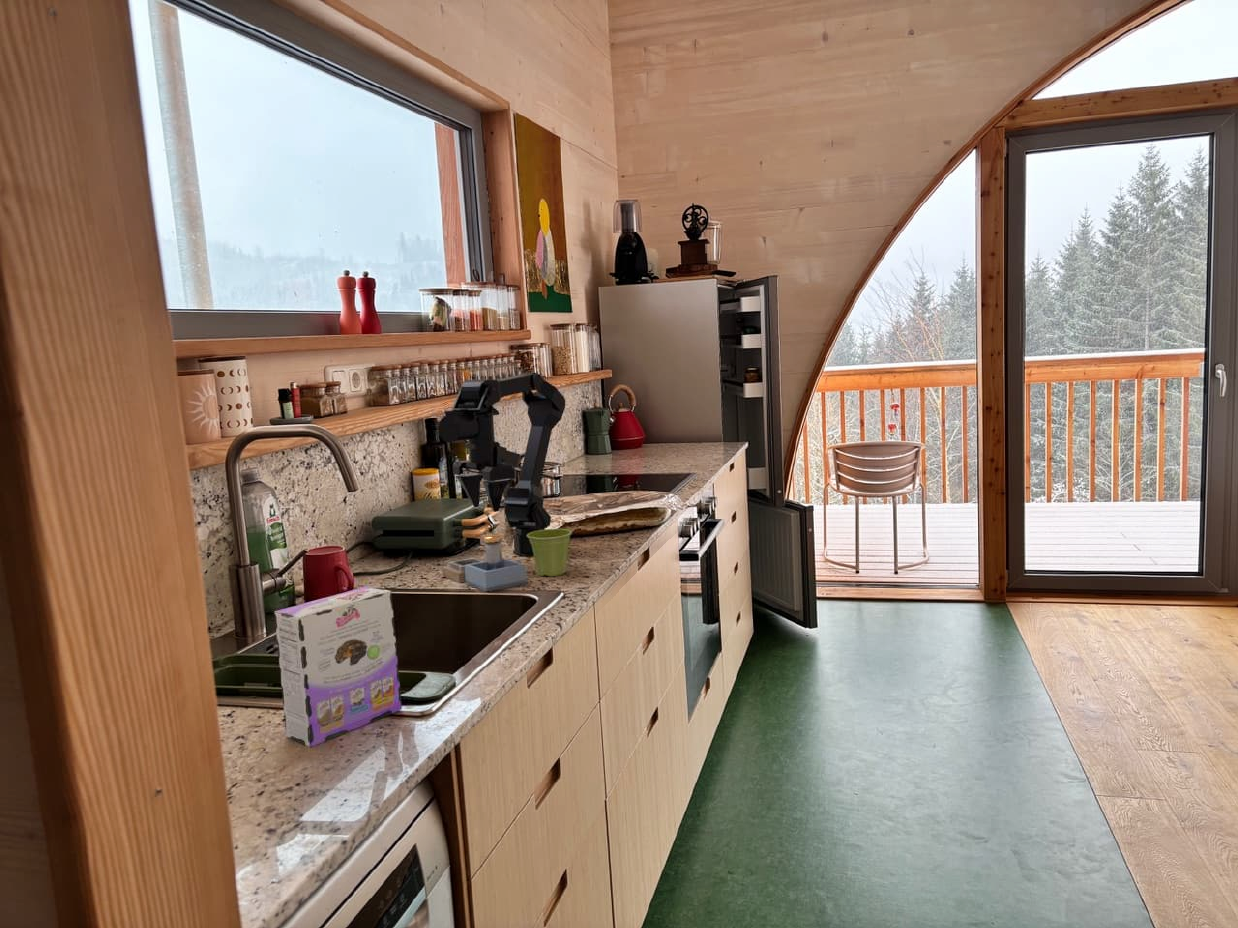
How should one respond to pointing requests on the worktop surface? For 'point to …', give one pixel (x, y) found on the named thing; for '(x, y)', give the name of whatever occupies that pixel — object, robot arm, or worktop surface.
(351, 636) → the candy box
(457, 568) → the beige shallow open box
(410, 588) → the worktop surface
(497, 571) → the bin
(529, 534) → the plant pot
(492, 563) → the glass spice jar
